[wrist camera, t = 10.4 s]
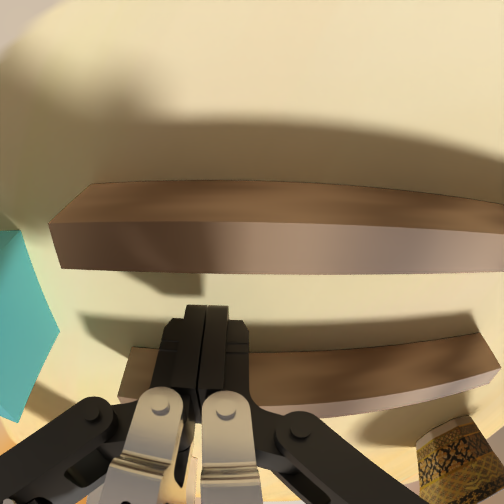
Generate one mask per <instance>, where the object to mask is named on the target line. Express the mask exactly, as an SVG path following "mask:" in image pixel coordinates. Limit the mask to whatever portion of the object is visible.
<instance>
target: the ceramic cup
mask: <svg viewBox="0 0 504 504" xmlns="http://www.w3.org/2000/svg"><path fill="white" fill-rule="evenodd" d="M416 450H417V459H418V470H419V482H420V493H419V496H420V497H421V498H422V499H424V500H425V501H427V502H428V503H430V504H478V503H480V502H482V501H484V500H485V499H487V498H489V497H491V496H492V495H494V494H496V493H498V492H499V491H501V490H503V489H504V466H503V464H502V463H501V461H500V460H499V458H498V457H497V456H496V455H495V453H494V452H493V451H492V449H491V447H490V446H489V444H488V443H487V441H486V439H485V438H484V436H483V435H482V433H481V432H480V430H479V429H478V427H477V425H476V424H475V423H474V421H473V420H472V418H471V417H470V416H464V417H459V418H455V419H452V420H450V421H448V422H446V423H444V424H442V425H440V426H439V427H437V428H435V429H433V430H431V431H429V432H428V433H427V434H425V435H424V436H423V437H422V438H420V439H419V440H418V441H417V442H416Z"/></svg>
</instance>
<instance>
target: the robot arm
mask: <svg viewBox="0 0 504 504" xmlns="http://www.w3.org/2000/svg"><path fill="white" fill-rule="evenodd" d="M161 340H162V341H161V343H160V347H159V351H158V355H157V359H156V363H155V367H154V372H153V376H152V380H151V384H150V387H149V389H148V390H147V391H146V392H144V393H143V394H142V395H141V397H140V398H139V399H138V400H136V401H133V402H130V403H124V404H117V405H110V404H109V403H108V402H107V401H106V400H105V399H103V398H100V397H87V398H85V399H83V400H81V401H80V402H78V403H77V404H75V405H74V406H72V407H71V408H70V409H68V410H67V411H65V412H64V413H62V414H61V415H59V416H58V417H57V418H55V419H54V420H52V421H51V422H49V423H48V424H46V425H45V426H44V427H42V428H41V429H39V430H38V431H36V432H35V433H33V434H32V435H30V436H29V437H27V438H26V439H24V440H23V441H22V442H20V443H19V444H17V445H16V446H14V447H13V448H11V449H10V450H8V451H7V452H5V453H4V454H2V455H1V456H0V504H75V503H77V502H78V501H80V500H81V499H83V498H84V497H86V496H87V495H88V494H90V493H91V492H92V491H94V490H95V489H97V488H98V487H99V486H101V485H102V484H103V483H104V485H103V488H102V492H101V496H100V499H99V503H98V504H186V485H187V479H188V473H189V468H190V462H191V457H192V451H193V445H194V431H195V423H201V424H202V472H201V504H263V499H262V491H261V483H260V477H259V472H258V470H257V466H258V467H261V468H265V469H268V470H271V471H272V472H273V474H274V475H275V476H277V477H278V478H279V479H280V480H281V481H282V482H283V483H284V484H285V485H286V486H287V487H288V488H289V489H290V490H291V491H292V492H293V493H295V494H296V495H297V496H298V497H299V498H300V499H301V500H302V501H303V502H305V503H306V504H430V503H428V502H427V501H425V500H424V499H422V498H421V497H420V496H418V495H417V494H415V493H414V492H412V491H411V490H409V489H408V488H407V487H405V486H404V485H403V484H401V483H400V482H398V481H397V480H396V479H394V478H393V477H392V476H390V475H389V474H388V473H386V472H385V471H384V470H382V469H381V468H380V467H378V466H377V465H376V464H374V463H373V462H372V461H371V460H369V459H368V458H367V457H365V456H364V455H363V454H362V453H360V452H359V451H358V450H357V449H355V448H354V447H353V446H352V445H350V444H349V443H348V442H347V441H345V440H344V439H343V438H342V437H341V436H339V435H338V434H337V433H336V432H334V431H333V430H332V429H331V428H330V427H328V426H327V425H326V424H325V423H324V422H323V421H321V420H320V419H319V418H318V417H317V416H315V415H314V414H312V413H309V412H305V411H294V412H290V413H288V414H286V415H280V414H276V413H272V412H269V411H266V410H264V409H262V408H260V407H259V406H258V405H257V404H256V403H255V402H254V401H253V400H252V398H251V395H250V391H249V331H248V329H247V327H246V325H245V324H244V322H243V320H229V307H228V306H217V305H208V307H207V305H187V306H186V310H185V315H184V319H181V318H172V319H171V321H170V322H169V323H168V324H167V325H166V327H165V328H164V331H163V335H162V339H161Z"/></svg>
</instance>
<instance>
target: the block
mask: <svg viewBox="0 0 504 504" xmlns="http://www.w3.org/2000/svg"><path fill="white" fill-rule="evenodd" d="M59 332H60V330H59V328H58V326H57V324H56V322H55V320H54V317H53V315H52V313H51V311H50V309H49V306H48V304H47V302H46V299H45V297H44V294H43V292H42V290H41V287H40V285H39V282H38V279H37V277H36V274H35V272H34V269H33V266H32V263H31V260H30V258H29V255H28V252H27V249H26V246H25V243H24V239H23V236H22V233H21V230H13V231H0V416H1V417H4V418H6V419H9V420H11V421H14V422H16V423H18V422H19V420H20V417H21V415H22V412H23V410H24V407H25V405H26V402H27V400H28V397H29V395H30V393H31V390H32V388H33V386H34V384H35V381H36V379H37V377H38V375H39V373H40V370H41V368H42V366H43V364H44V362H45V360H46V358H47V356H48V354H49V352H50V350H51V348H52V346H53V344H54V342H55V340H56V338H57V336H58V334H59Z"/></svg>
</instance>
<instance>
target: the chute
mask: <svg viewBox="0 0 504 504" xmlns="http://www.w3.org/2000/svg"><path fill="white" fill-rule="evenodd" d="M48 225H49V229H50V232H51V236H52V239H53V243H54V246H55V250H56V253H57V256H58V259H59V263H60V266H61V269H82V270H107V271H135V272H169V273H214V274H299V275H351V274H433V273H474V272H504V205H502V204H497V203H491V202H485V201H478V200H472V199H466V198H459V197H452V196H444V195H437V194H429V193H421V192H412V191H403V190H394V189H383V188H373V187H361V186H348V185H334V184H318V183H300V182H276V181H235V180H185V181H145V182H121V183H103V184H91V185H89V186H88V187H87V188H86V189H85V190H84V191H82V192H81V193H80V194H79V195H78V196H77V197H76V198H75V199H73V200H72V201H71V202H70V203H69V204H68V205H67V206H66V207H65V208H64V209H63V210H61V211H60V212H59V213H58V214H57V215H56V216H55V217H54V218H53V219H52V220H51V221H50V222H49V223H48ZM158 351H159V349H150V348H138V347H132V348H131V352H130V355H129V358H128V361H127V365H126V368H125V371H124V375H123V378H122V381H121V385H120V388H119V392H118V396H117V397H118V399H119V400H120V402H121V404H124V403H130V402H133V401H136V400H138V399H139V398H140V397H141V395H142V394H143V393H144V392H146V391H147V390H148V389H149V387H150V384H151V380H152V376H153V372H154V367H155V363H156V359H157V355H158ZM500 369H501V366H500V364H499V363H498V361H497V359H496V358H495V356H494V354H493V353H492V351H491V349H490V348H489V346H488V344H487V343H486V341H485V340H484V338H483V336H482V335H481V333H475V334H470V335H464V336H459V337H452V338H446V339H440V340H433V341H426V342H418V343H410V344H402V345H393V346H383V347H373V348H361V349H348V350H333V351H313V352H281V353H249V391H250V395H251V398H252V400H253V401H254V402H255V403H256V404H257V405H258V406H259V407H260V408H262V409H264V410H266V411H269V412H272V413H276V414H280V415H286V414H288V413H290V412H294V411H305V412H309V413H312V414H314V415H315V416H317V417H318V418H330V417H339V416H347V415H355V414H362V413H369V412H375V411H381V410H387V409H393V408H398V407H403V406H408V405H413V404H417V403H422V402H426V401H430V400H434V399H438V398H442V397H446V396H450V395H453V394H457V393H460V392H464V391H467V390H471V389H474V388H477V387H480V386H483V385H486V384H489V383H490V382H491V380H492V379H493V378H494V377H495V375H496V374H497V373H498V371H499V370H500Z"/></svg>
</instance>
